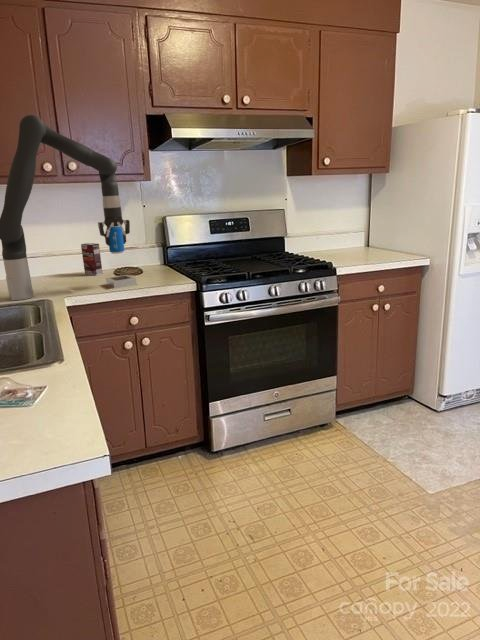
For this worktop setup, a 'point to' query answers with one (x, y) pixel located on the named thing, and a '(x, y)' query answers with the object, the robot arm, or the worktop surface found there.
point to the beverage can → (116, 240)
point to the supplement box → (91, 258)
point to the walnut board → (106, 287)
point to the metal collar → (121, 281)
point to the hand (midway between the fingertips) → (116, 244)
